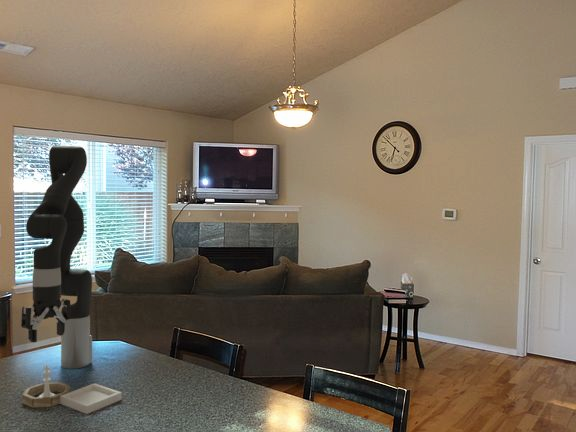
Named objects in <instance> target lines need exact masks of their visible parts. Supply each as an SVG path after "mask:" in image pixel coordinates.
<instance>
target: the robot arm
mask: <svg viewBox="0 0 576 432" xmlns="http://www.w3.org/2000/svg"><path fill="white" fill-rule="evenodd" d="M87 157H88V155H87V153H86V149H84V147H82V146H79V145H52V146H51V147H50V149H49V153H48V163H49V171H50V179H51V184H50V185H49V186H48V188H47V189H46V190H45V193H44V196H43V198H42V200H41V203H40V204H39V205H38V206H37V207H36V208H35V209H34V211H32V213H31V214H30V215H29V217H28V219H27V222H26V224H25V228H26V233H27V235H28V236H29V237H30V238H33V239H37V240H38V239H45V240H46V239H47V240H51V242H50V244H48V245H43V246H39V247H36V248H35V249H34V251H33V271H32V300H33V303H32V306H26V305H25V306H24V305H23V306H22V308H21V321H20V322H21V323H20V324H21V325H20V326H21V328H24V329H27V330H28V332H27V334H28V335H27V336H28V341H29V342H31V343H37V342H38V341H37V340H38V334H37V333H38V331H37V327H38V325H39V324H41V323H42V322H43V320H47V319H51V318H54V319H55V320H56V321H57V322H56V335H57V336H60V337H61V339H60V342H61V343H60V365H61V367H62V368H63V369H68V370H69V369H70V370H71V369H72V370H73V369H81V368H84V367H87V366H89V365H90V364H91V363H92V362H93V335H91V307H92V290H93V277H92V272H91V271H90V270H88V269H81V268H80V269H77V268H71V257H72V255H73V252H74V251H75V249H76V247H77V246H78V244H79V242H80V241H81V239H82V237H83V235H84V233H85V220H84V219H85V218H84V217H85V215H84V212H83V209H82V207H81V206H80V204H79V202H77V200H76V199H75V198H74V196H73V195H72V194H73V191H74V190H75V188H76V187H77V186H78V184H79V182H80V180H81V178H82V177H83V175H84V173H85V171H86V168H87V164H88V158H87ZM62 296H63V297H64V296H65V297H76V301H75V302H74V303H72V304H71V300H70V299H67V298H62ZM61 298H62V299H61ZM60 309H61V311H60Z"/></svg>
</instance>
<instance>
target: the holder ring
mask: <svg viewBox="0 0 576 432" xmlns="http://www.w3.org/2000/svg"><path fill="white" fill-rule="evenodd" d="M44 388H45V382H43V383H38V384H34V385H32V386H29V387H27V388H26V389H25V390H24V392H23V393H22V404H23V405H26V406H28V407H30V408H46V407H54V406H57V405H59V404H60V396H61V395H64V394H67V393H69V392H71V385H69V384H66V383H64V382H60V381H58V382H56V381H55V382H49V388H50V392H51V393H54V392H55V393H56V392H59V393H57V394H55V395H54V396H51V397H38V396H37V395H41V394H43V393H44ZM35 396H37V397H35ZM60 405H61V404H60Z"/></svg>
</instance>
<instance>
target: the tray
mask: <svg viewBox="0 0 576 432" xmlns="http://www.w3.org/2000/svg"><path fill="white" fill-rule="evenodd" d="M122 394H123V393H122V391H120V390H116V389H112V388H109V387H107V386H104V385H101V384H98V383H96V382H94V383H92V384H89V385H86V386H82V387H80V388H78V389H76V390H72V391H70V392H69V393H67V394H64V395H61V396H60V405H63V406H65V407H68V408H69V409H73V410H76V411H79V412H81V413H83V414H86V415H87V414H90V413H92V412H95V411H98V410H100V409H103V408H105V407H107V406H110V405H112V404H114V403H117V402H120V401H122V398H123V396H122Z"/></svg>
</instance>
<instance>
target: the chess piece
mask: <svg viewBox="0 0 576 432" xmlns="http://www.w3.org/2000/svg"><path fill="white" fill-rule="evenodd" d="M44 369H45V370H44ZM50 369H51V367H49V365H48V364H45V366H44V367H43V370H44V371H43V372H42V374H43V376H44V378H43V379H42V381H43V383H45V388H44V392H43V393H40V394H39V395H38V396H37V397H51V396H54V395H56V393H54V392H50V388H49V383H50V381H51V380H52V379H51V378H50V375H51V372H52V371H51V370H50Z"/></svg>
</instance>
